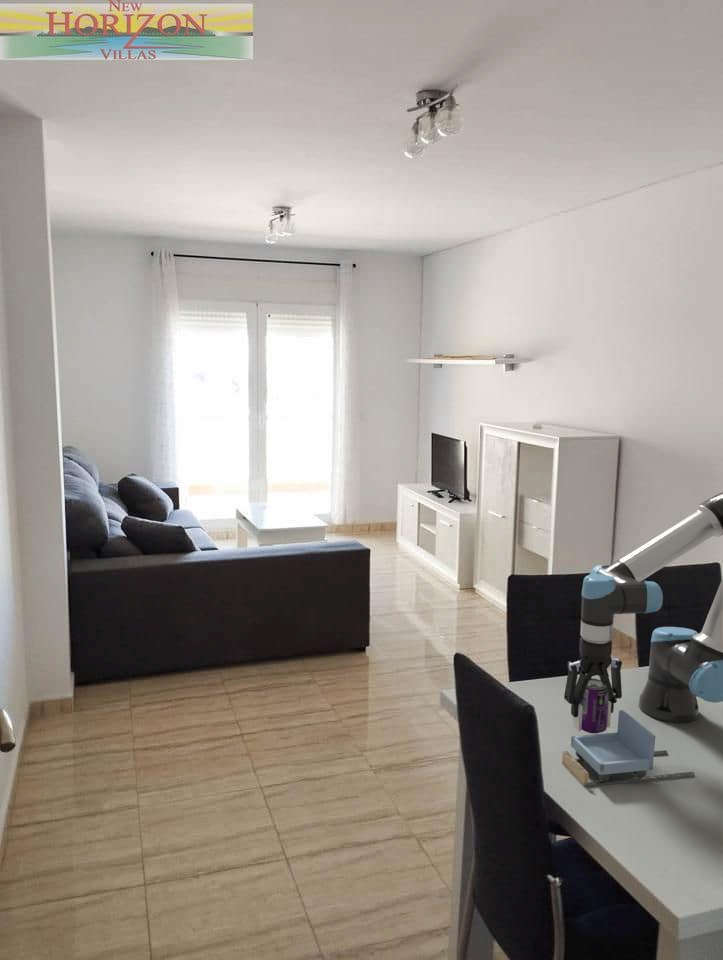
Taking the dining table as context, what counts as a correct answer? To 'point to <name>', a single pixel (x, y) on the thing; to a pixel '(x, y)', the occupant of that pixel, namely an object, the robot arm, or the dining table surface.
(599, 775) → the pale blue open box
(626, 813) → the dining table surface
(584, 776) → the track
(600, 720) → the beverage can
